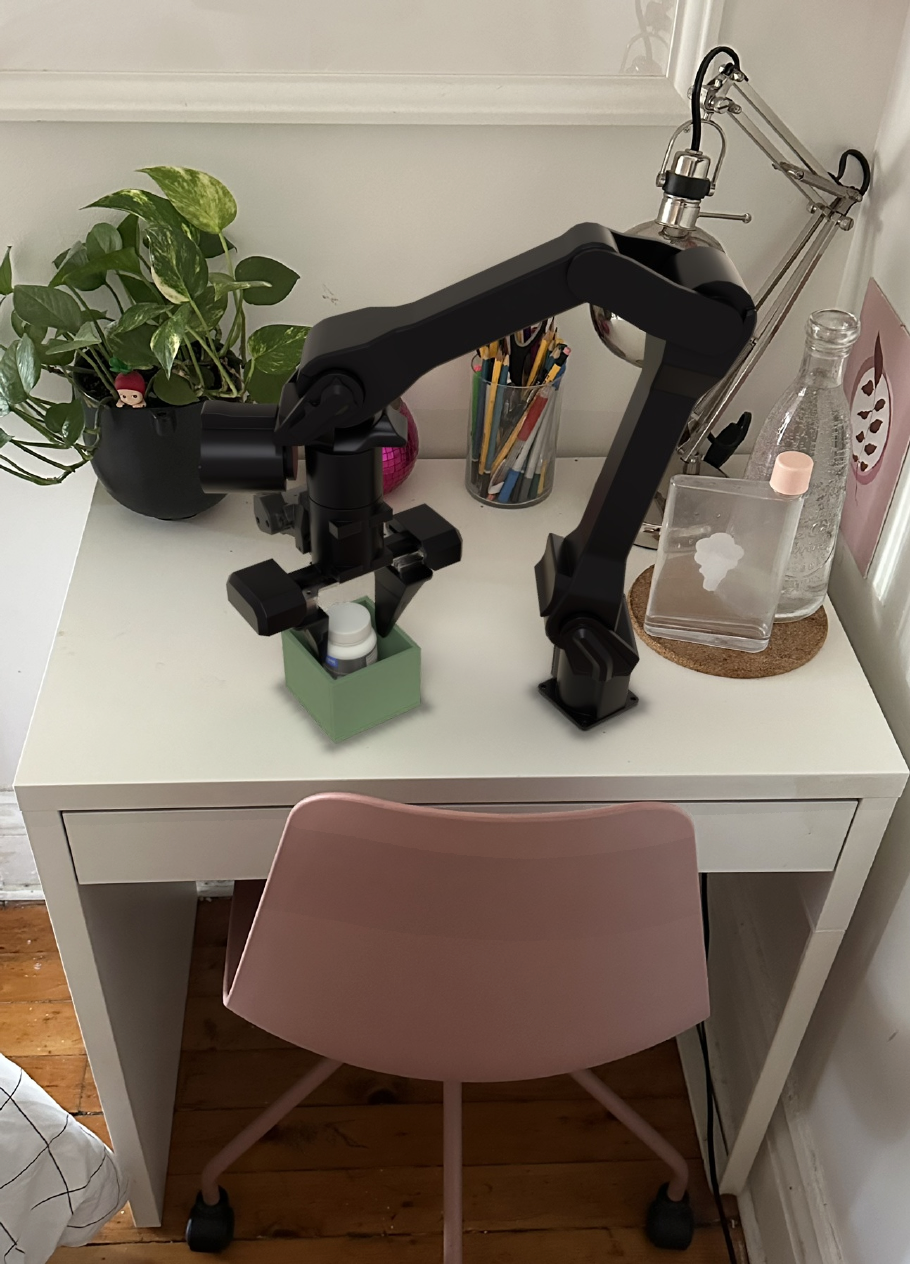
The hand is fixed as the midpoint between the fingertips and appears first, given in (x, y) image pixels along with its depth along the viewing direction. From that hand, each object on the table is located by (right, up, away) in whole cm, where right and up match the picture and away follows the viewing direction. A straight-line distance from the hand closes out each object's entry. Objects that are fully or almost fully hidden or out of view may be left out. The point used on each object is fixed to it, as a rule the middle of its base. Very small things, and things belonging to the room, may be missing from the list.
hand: (351, 647), depth 96 cm
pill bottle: (0, -4, +3) cm, 5 cm away
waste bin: (0, -4, +4) cm, 6 cm away
